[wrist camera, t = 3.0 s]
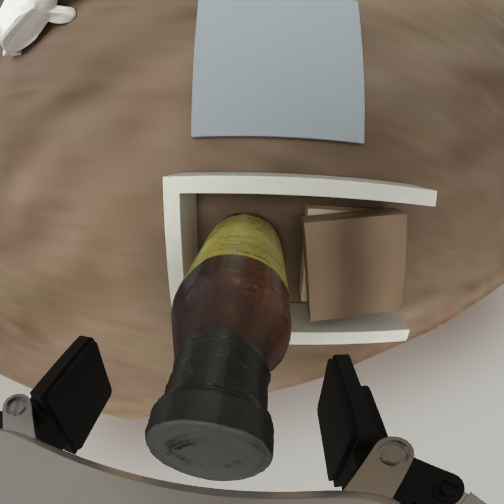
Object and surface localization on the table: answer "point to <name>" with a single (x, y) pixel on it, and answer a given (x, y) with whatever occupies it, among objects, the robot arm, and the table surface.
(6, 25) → the white animal figurine
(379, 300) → the walnut offcut
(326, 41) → the mat
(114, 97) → the table surface
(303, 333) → the rack
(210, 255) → the sauce bottle
